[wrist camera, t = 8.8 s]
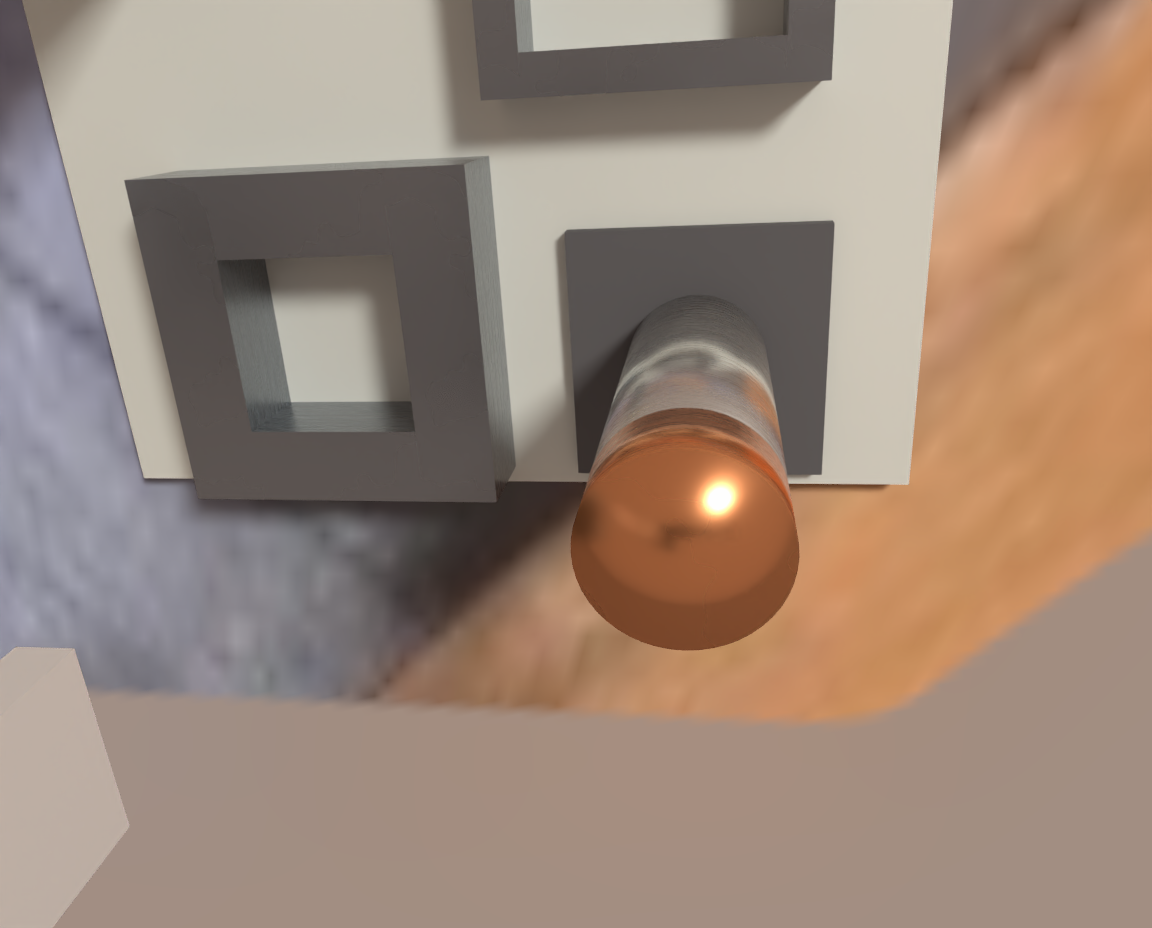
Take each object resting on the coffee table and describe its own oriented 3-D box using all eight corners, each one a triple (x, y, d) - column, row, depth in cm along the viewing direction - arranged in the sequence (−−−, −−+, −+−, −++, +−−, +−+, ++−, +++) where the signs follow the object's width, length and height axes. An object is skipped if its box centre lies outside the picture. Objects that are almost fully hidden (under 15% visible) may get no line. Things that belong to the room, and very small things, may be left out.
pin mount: (240, 464, 29) (198, 498, 27) (178, 170, 26) (124, 180, 24) (515, 466, 28) (497, 502, 26) (488, 155, 25) (464, 164, 22)
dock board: (157, 468, 31) (143, 478, 30) (-49, -362, 22) (-75, -376, 22) (903, 473, 27) (908, 484, 26) (991, -518, 19) (1002, -543, 18)
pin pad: (580, 466, 28) (578, 473, 27) (567, 229, 25) (564, 232, 25) (819, 467, 27) (821, 474, 26) (832, 220, 24) (834, 223, 23)
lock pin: (625, 296, 25) (564, 450, 15) (768, 292, 24) (803, 449, 14) (630, 427, 26) (577, 647, 16) (765, 427, 26) (795, 654, 16)
